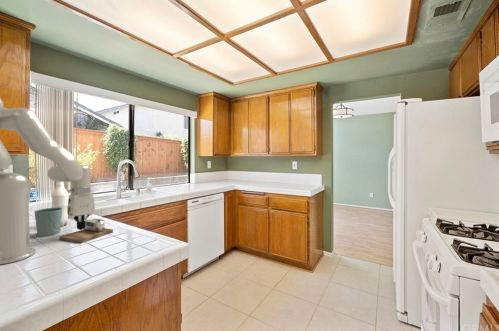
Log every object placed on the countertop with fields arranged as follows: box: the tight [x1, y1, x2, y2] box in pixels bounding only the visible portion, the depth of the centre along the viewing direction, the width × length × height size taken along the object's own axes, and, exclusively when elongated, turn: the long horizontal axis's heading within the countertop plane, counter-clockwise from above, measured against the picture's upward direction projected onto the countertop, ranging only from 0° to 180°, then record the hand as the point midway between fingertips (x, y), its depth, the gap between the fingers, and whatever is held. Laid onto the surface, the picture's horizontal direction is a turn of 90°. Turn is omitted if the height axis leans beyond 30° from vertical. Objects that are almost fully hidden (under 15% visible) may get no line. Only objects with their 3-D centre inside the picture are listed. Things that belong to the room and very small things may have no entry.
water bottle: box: [51, 181, 70, 227], centre depth 124 cm, size 7×7×25 cm
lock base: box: [59, 218, 114, 244], centre depth 107 cm, size 15×14×6 cm
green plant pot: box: [34, 207, 62, 238], centre depth 110 cm, size 10×10×12 cm
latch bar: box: [85, 218, 106, 232], centre depth 110 cm, size 12×4×5 cm, turn 69°
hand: (81, 229), depth 108 cm, fingers closed
